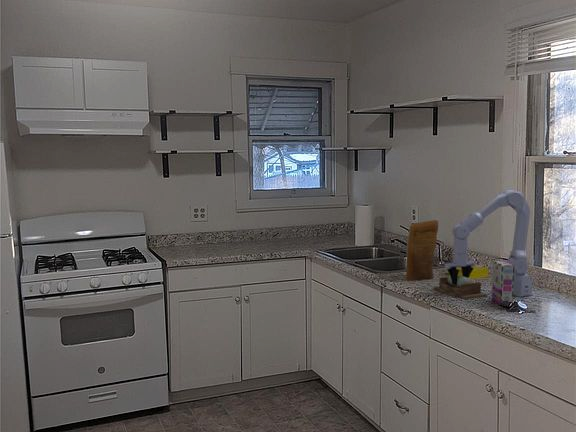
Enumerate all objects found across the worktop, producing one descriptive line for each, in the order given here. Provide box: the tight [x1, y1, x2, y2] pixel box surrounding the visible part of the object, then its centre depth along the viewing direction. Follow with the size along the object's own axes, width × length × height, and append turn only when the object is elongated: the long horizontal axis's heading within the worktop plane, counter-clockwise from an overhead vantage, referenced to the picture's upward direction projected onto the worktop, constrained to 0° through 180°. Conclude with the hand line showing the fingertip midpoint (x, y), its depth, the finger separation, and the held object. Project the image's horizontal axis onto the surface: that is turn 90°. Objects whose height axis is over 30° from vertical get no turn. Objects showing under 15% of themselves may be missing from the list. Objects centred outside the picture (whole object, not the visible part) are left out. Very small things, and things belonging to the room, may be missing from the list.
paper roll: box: [447, 275, 473, 288], centre depth 246 cm, size 10×5×5 cm, turn 22°
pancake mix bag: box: [405, 219, 439, 282], centre depth 272 cm, size 7×19×28 cm, turn 115°
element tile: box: [446, 264, 489, 280], centre depth 282 cm, size 15×15×5 cm
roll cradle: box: [433, 276, 488, 300], centre depth 246 cm, size 20×12×6 cm, turn 22°
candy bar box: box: [491, 260, 514, 306], centre depth 228 cm, size 11×5×16 cm, turn 178°
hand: (459, 283), depth 246 cm, fingers closed on paper roll, 5 cm apart
